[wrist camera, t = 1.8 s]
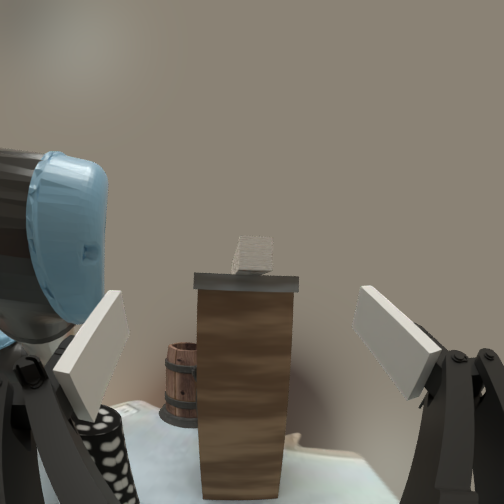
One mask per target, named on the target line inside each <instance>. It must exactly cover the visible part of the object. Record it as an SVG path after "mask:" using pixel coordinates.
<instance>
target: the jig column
mask: <svg viewBox="0 0 504 504" xmlns="http://www.w3.org/2000/svg"><path fill="white" fill-rule="evenodd" d="M194 289H198V303H197V412H198V437H199V455H200V470H201V483H202V494H203V499H209V500H259V499H274V498H278V492H279V484H280V476H281V468H282V459H283V450H284V440H285V429H286V417H287V406H288V393H289V379H290V363H291V346H292V325H293V298H294V292H299V277H296V276H265V275H263V276H262V275H237V274H214V273H213V274H212V273H194Z"/></svg>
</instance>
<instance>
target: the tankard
mask: <svg viewBox="0 0 504 504" xmlns="http://www.w3.org/2000/svg"><path fill="white" fill-rule="evenodd" d="M165 366H166V391H165V400H166V404H164V405H163V407H162V408H161V409H160V411H159V416H160V418H161V419H162V420H163V421H165V422H166V423H168V424H171V425H173V426H177V427H182V428H198V412H197V344H195V343H187V342H186V343H174V344H170V345H169V346H168V352H167V358H166V359H165Z"/></svg>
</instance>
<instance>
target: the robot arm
mask: <svg viewBox="0 0 504 504" xmlns="http://www.w3.org/2000/svg"><path fill="white" fill-rule="evenodd" d="M107 197H108V179H107V176H106V173H105V172H104V171H103V169H102V168H101V167H100V166H99V165H98V164H96V163H94V162H91V161H87V160H83V159H78V158H74V157H69V156H66V155H65V154H64V153H62V152H53V151H50V152H48V153H46V154H43V153H36V152H29V151H22V150H13V149H4V148H0V504H45V502H44V497H43V492H42V487H41V481H40V474H39V467H38V458H37V448H38V451H39V454H40V457H41V460H42V462H43V465H44V467H45V470H46V473H47V475H48V477H49V480H50V482H51V484H52V486H53V489H54V491H55V493H56V495H57V497H58V499H59V501H60V503H61V504H121V503H120V501H119V500H118V499H117V497H116V496H115V494H114V493H113V492H112V490H111V489H110V487H109V486H108V484H107V483H106V481H105V479H104V478H103V476H102V475H101V473H100V471H99V470H98V468H97V466H96V465H95V463H94V461H93V459H92V458H91V456H90V454H89V452H88V450H87V448H86V447H85V445H84V443H83V441H82V439H81V437H80V435H79V433H78V431H77V428H76V426H75V424H74V422H73V420H72V419H71V415H72V412H73V410H74V412H75V414H76V416H77V417H78V419H80V420H85V421H89V422H95V419H96V416H97V414H98V411H99V408H100V405H101V403H102V400H103V397H104V395H105V392H106V389H107V387H108V385H109V382H110V380H111V377H112V375H113V372H114V370H115V367H116V365H117V362H118V360H119V358H120V355H121V353H122V351H123V348H124V346H125V344H126V341H127V339H128V337H129V335H130V332H129V328H128V323H127V318H126V313H125V308H124V303H123V297H122V291H116V290H109V291H108V292H107V293H106V295H105V296H104V250H105V249H104V247H105V224H106V210H107ZM83 323H84V324H83ZM76 324H83V326H82V327H81V328H80V330H79V331H78V333H77V334H76V335H75V332H74V327H75V326H76ZM352 328H353V329H354V330H355V332H356V333H357V334H358V336H359V337H360V338H361V339H362V341H363V342H364V343H365V345H366V346H367V347H368V349H369V350H370V351H371V353H372V354H373V355H374V357H375V358H376V359H377V361H378V362H379V363H380V365H381V366H382V367H383V369H384V370H385V371H386V373H387V374H388V375H389V377H390V378H391V380H392V381H393V382H394V384H395V385H396V386H397V388H398V389H399V391H400V392H401V393H402V395H403V396H404V398H405V399H406V400H407V401H408V400H410V399H413V398H416V397H419V395H420V394H421V392H422V390H423V388H424V387H425V388H426V389H427V391H428V392H427V394H426V395H425V397H424V399H423V401H422V402H421V404H420V406H419V408H421V407H422V405H424V407H423V414H422V420H421V426H420V431H419V436H418V441H417V445H416V450H415V454H414V458H413V462H412V466H411V470H410V473H409V477H408V480H407V483H406V486H405V489H404V492H403V495H402V498H401V501H400V504H504V366H503V364H502V362H501V360H500V359H499V357H498V355H497V354H496V353H495V352H494V351H493V350H490V349H486V348H483V349H481V350H480V351H479V353H478V355H477V357H476V358H468V357H467V356H466V354H464V353H462V352H460V351H457V350H451V351H448V350H447V349H446V348H445V347H444V346H442V345H441V344H440V343H439V342H438V341H437V340H436V339H435V338H433V336H432V335H431V334H429V333H428V332H427V331H426V330H425V329H424V328H423V327H422V326H420V325H418V324H416V323H414V322H412V321H411V320H410V319H409V318H408V317H406V316H405V315H404V314H403V313H402V312H401V311H400V310H399V309H398V308H396V307H395V306H394V305H393V304H392V303H391V302H390V301H388V299H386V298H385V297H384V296H383V295H382V294H381V293H379V292H378V291H377V290H376V289H375V288H374V287H373V286H360V291H359V296H358V301H357V306H356V311H355V315H354V320H353V324H352ZM484 386H485V388H486V392H485V394H484V395H483V396H482V393H481V391H482V390H483V388H484ZM36 445H37V446H36ZM472 469H473V474H474V483H475V492H473V491H471V489H470V486H471V478H472Z"/></svg>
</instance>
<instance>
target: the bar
mask: <svg viewBox="0 0 504 504" xmlns="http://www.w3.org/2000/svg"><path fill="white" fill-rule="evenodd" d="M272 270H273V237H256V236H240V238H239V241H238V245H237V248H236V252H235V255H234V259H233V262H232V270H231V274H237V275H262V274H265V273H268V272H270V271H272Z"/></svg>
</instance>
